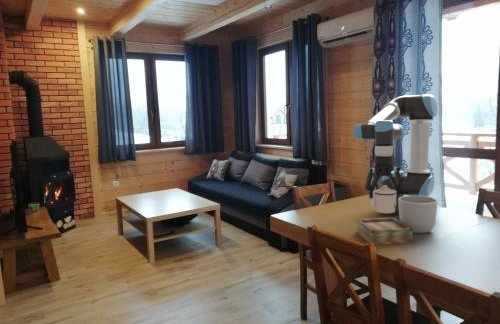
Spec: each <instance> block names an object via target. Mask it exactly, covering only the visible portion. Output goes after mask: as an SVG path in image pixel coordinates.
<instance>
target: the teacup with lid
mask: <svg viewBox="0 0 500 324" xmlns="http://www.w3.org/2000/svg"><path fill="white" fill-rule="evenodd" d="M374 192H375V206H374V211H375V212H376V213H379V214H383V213H394V212H395V194H396V192H395V191H394V190H391V189H390V188H387V185H383V187H382V186H381V187H380V188H378V189H374Z"/></svg>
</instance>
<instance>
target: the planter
mask: <svg viewBox="0 0 500 324" xmlns="http://www.w3.org/2000/svg"><path fill="white" fill-rule="evenodd" d="M438 202H439V201H438V199H436V198H434V197H431V196H428V197H426V196H410V195H404V196H402V197H399V198H398V204H399V215H398V216H399V219H398V220H399V221H401V222H402V223H404V224H406V225H407V226H409V227H411V228H412V229H413V230H412V231H413V233H414V234H427V233H429V232H431V231H432V230H433V229H434V227H435V225H436V221H437V213H438V212H437V211H438Z"/></svg>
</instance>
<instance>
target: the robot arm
mask: <svg viewBox="0 0 500 324" xmlns="http://www.w3.org/2000/svg"><path fill="white" fill-rule="evenodd" d="M437 114H438V103H437V100H436V97H435V96H434V95H433V94H429V93H428V94H426V93H425V94H424V93H423V94H413V95H409V94H408V95H402V96H398V97H395V98H394V99H393V98H392V99H391V100H389V101H388V102H386V103H385V104H383V106H382V109H381V110H379V111H378V112H377V113H375V115H373V116H372V117H371V118H370V119H369V120H367V121H366V122H365V123H359V124H355V126H354V127H353V137H354V139H355V140H361V141H374V154H375V155H374V167H368V168H367V178H366V182H365V185H364V189H365V191H368V197H369V199H370V205H371V206H372V207H375V188H376V187H377V184H378V183H379V181H381V188H382V187H383V185H387V188H390V189H391V190H394V191H395V192H396V194H395V212H394V213H382V214H385V215H390V216H392V215H393V216H399V204H398V198H399V197H402V196H426V197H431V194H432V193H433V190H434V187H435V182H436V181H435V177H434V175H431V174H432V171H430V169H429V168H428V166H429V149H430V148H429V143H430V124H431V122H432V121H434V117H436V116H437ZM398 118H408V122H410V123H411V133H410V135H411V138H410V141H411V142H410V168H409V169H407V172H406V173H405V171H404V170H401V168H400V167H399V166H394V165H393V164H394V141H397V140H400V139H401V138H402V137H403V136H404V133H405V128H404V126H402V124H400V123H394V121H393V120H396V119H398ZM374 172H375V174H374ZM380 178H381V180H380ZM372 179H373V180H372Z"/></svg>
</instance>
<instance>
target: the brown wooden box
mask: <svg viewBox="0 0 500 324" xmlns="http://www.w3.org/2000/svg"><path fill="white" fill-rule="evenodd" d="M412 230H413V229H412V228H411V227H409V226H407V225H406V224H404V223H402V222H401V221H400V219H398V218H396V217H379V218H378V217H377V218H362V219H360V218H358V219H356V232H357V233H358V235H360V236H361V237H362V238H363V239H364V240H365V241H366V242H367V243H369V242H370V243H373V244H375V245H376V246H377V245H392V244H395V245H396V244H405V243H406V244H407V243H413V231H412ZM370 243H369V244H370ZM375 245H374V246H375Z"/></svg>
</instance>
